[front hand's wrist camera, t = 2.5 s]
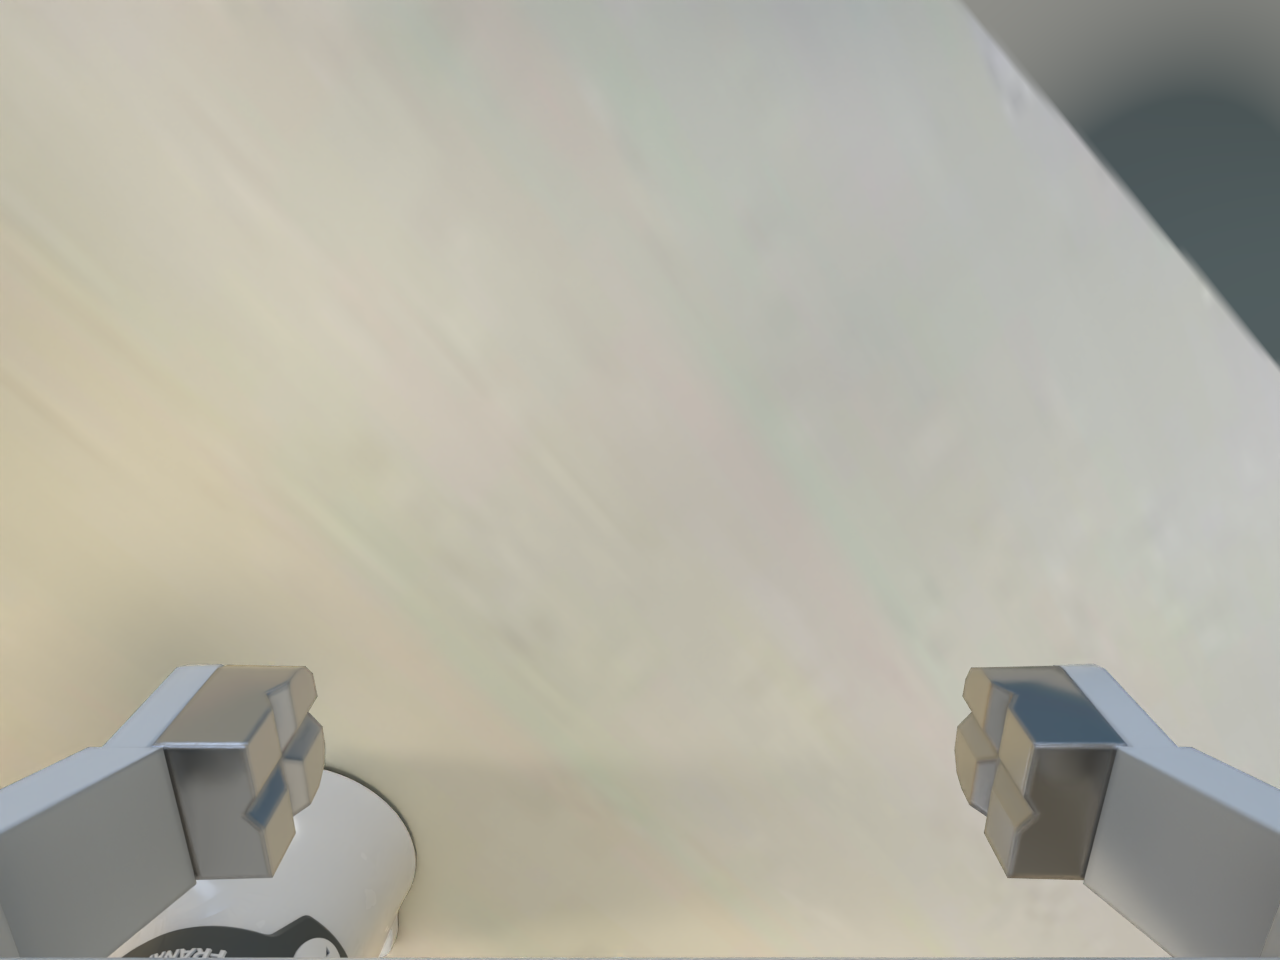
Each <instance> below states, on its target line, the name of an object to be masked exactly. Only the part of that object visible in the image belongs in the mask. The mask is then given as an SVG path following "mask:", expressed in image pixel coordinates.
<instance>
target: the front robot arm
mask: <svg viewBox="0 0 1280 960" xmlns="http://www.w3.org/2000/svg"><path fill="white" fill-rule="evenodd" d="M316 698H317V691H316V686H315V681H314V677H313V673H312V672H311V671H310V670H309V669H308V668H307V667H306V666H267V665H222V664H203V665H184V666H181V667H177V668H176V669H175V670H174V671H173V672H172V673H171V674H170V675H169V676H168V677H167V678H166V679H165V680H164V681H163V682H162V684H161V685H160V686H159V687H158V688H157V689H156V690H155V691H154V692H153V693H152V694H151V695H150V696H149V697H148V699H147V700H146V701H145V702H144V703H143V704H142V705H141V706H140V707H139V708H138V709H137V710H136V711H135V712H134V714H133V715H132V716H131V717H130V718H129V719H128V720H127V721H126V722H125V723H124V724H123V725H122V726H121V727H120V728H119V730H118V731H117V732H116V733H115V734H114V735H113V736H112V737H111V738H110V739H109V740H108V741H107V742H106V743H105V745H104V746H103V747H88V748H86V749H84V750H82V751H79V752H77V753H75V754H73V755H71V756H69V757H67V758H65V759H63V760H61V761H59V762H57V763H54V764H52V765H50V766H48V767H46V768H44V769H42V770H40V771H38V772H36V773H34V774H31V775H29V776H27V777H25V778H23V779H21V780H19V781H17V782H15V783H13V784H11V785H9V786H6V787H4V788H2V789H0V960H1280V789H1277V788H1275V787H1273V786H1271V785H1269V784H1267V783H1265V782H1263V781H1261V780H1259V779H1257V778H1255V777H1253V776H1250V775H1248V774H1246V773H1244V772H1242V771H1240V770H1238V769H1236V768H1234V767H1232V766H1230V765H1228V764H1226V763H1223V762H1221V761H1219V760H1217V759H1215V758H1213V757H1211V756H1209V755H1207V754H1205V753H1203V752H1201V751H1198V750H1196V749H1194V748H1192V747H1177V746H1176V744H1175V743H1174V742H1173V741H1172V740H1171V739H1170V738H1169V737H1168V736H1167V735H1166V734H1165V733H1164V732H1163V731H1162V729H1161V728H1160V727H1159V726H1158V725H1157V724H1156V723H1155V722H1154V721H1153V720H1152V719H1151V718H1150V717H1149V716H1148V714H1147V713H1146V712H1145V711H1144V710H1143V709H1142V708H1141V707H1140V706H1139V705H1138V704H1137V703H1136V702H1135V701H1134V700H1133V698H1132V697H1131V696H1130V695H1129V694H1128V693H1127V692H1126V691H1125V690H1124V689H1123V688H1122V687H1121V686H1120V685H1119V683H1118V682H1117V681H1116V680H1115V679H1114V678H1113V677H1112V676H1111V675H1110V674H1109V673H1108V672H1107V671H1106V670H1105V669H1104V668H1102V667H1100V666H1098V665H1095V664H1077V665H1053V666H1023V667H974V668H971V669H970V671H969V673H968V675H967V677H966V679H965V685H964V690H963V698H964V700H965V701H966V703H967V705H968V706H969V708H970V710H971V711H972V712H971V713H970V714H969V715H968V716H967V717H966V718H965V719H964V720H963V721H962V722H961V723H960V724H959V725H958V726H957V734H956V742H955V760H956V771H957V775H958V778H959V782H960V785H961V789H962V791H963V793H964V795H965V797H966V799H967V801H968V803H969V805H971V806H972V807H973V808H975V809H976V810H978V811H979V812H981V813H982V814H984V815H985V816H986V817H987V819H986V824H985V830H984V834H985V836H986V838H987V840H988V842H989V844H990V845H991V847H992V849H993V851H994V853H995V855H996V857H997V859H998V861H999V863H1000V864H1001V866H1002V868H1003V870H1004V872H1005V874H1006V876H1007V878H1029V879H1064V880H1084V882H1083V884H1084V885H1086V886H1087V887H1088V888H1089V889H1090V890H1092V891H1093V892H1094V893H1095V894H1097V895H1098V896H1099V897H1100V898H1101V899H1103V900H1104V901H1105V902H1106V903H1107V904H1109V905H1110V906H1111V907H1112V908H1114V909H1115V910H1116V911H1117V912H1118V913H1120V914H1121V915H1122V916H1123V917H1125V918H1126V919H1127V920H1128V921H1129V922H1131V923H1132V924H1133V925H1134V926H1135V927H1137V928H1138V929H1139V930H1140V931H1142V932H1143V933H1144V934H1145V935H1146V936H1148V937H1149V938H1150V939H1151V940H1153V941H1154V942H1155V943H1156V944H1157V945H1159V946H1160V947H1161V948H1162V949H1163V950H1165V951H1166V952H1167V953H1168V954H1170V955H1171V956H1172V957H1165V958H860V957H728V958H381V957H384V956H386V955H387V954H389V953H390V951H391V949H392V947H393V945H394V943H395V940H396V938H397V934H398V910H399V908H400V906H401V905H402V903H403V901H404V899H405V897H406V896H407V894H408V892H409V890H410V888H411V885H412V883H413V879H414V876H415V869H416V856H415V850H414V846H413V842H412V839H411V837H410V834H409V832H408V830H407V828H406V826H405V825H404V823H403V822H402V820H401V819H400V817H399V816H398V815H397V813H396V812H395V811H394V810H393V809H392V808H391V807H390V806H389V805H388V804H387V803H386V802H385V801H384V800H383V799H382V798H381V797H379V796H378V795H377V794H375V793H374V792H373V791H371V790H370V789H368V788H367V787H365V786H363V785H362V784H360V783H358V782H356V781H354V780H352V779H350V778H347V777H345V776H343V775H340V774H337V773H334V772H331V771H328V770H324V764H325V740H324V733H323V726H322V725H321V724H320V723H319V722H318V721H317V720H316V719H315V718H314V717H313V716H312V715H311V714H310V713H309V712H308V711H309V710H310V708H311V706H312V705H313V703H314V701H315V700H316Z"/></svg>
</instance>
